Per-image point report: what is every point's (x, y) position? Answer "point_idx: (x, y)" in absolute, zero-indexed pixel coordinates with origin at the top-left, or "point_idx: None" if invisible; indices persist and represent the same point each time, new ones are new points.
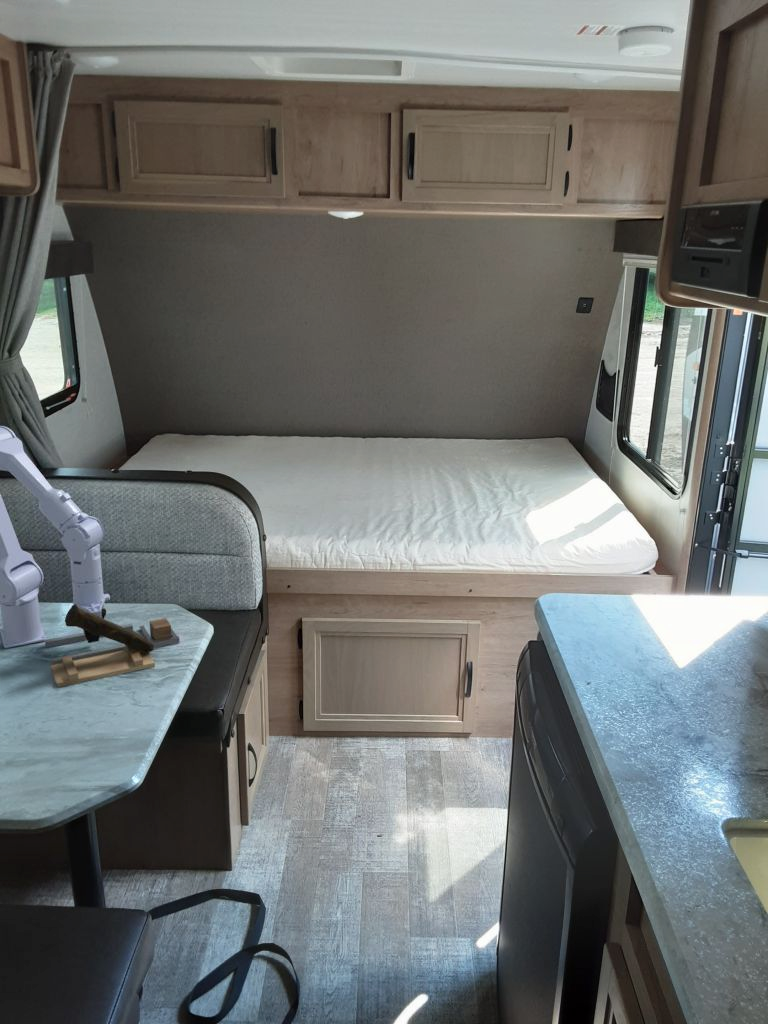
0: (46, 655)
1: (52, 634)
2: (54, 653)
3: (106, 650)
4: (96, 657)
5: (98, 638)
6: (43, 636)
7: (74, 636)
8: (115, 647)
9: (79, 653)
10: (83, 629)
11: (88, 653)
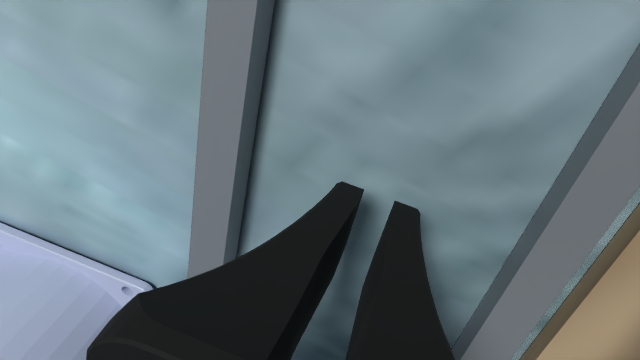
0: (309, 357)
1: (90, 225)
2: (311, 332)
3: (599, 239)
4: (606, 307)
5: (419, 226)
6: (118, 285)
7: (220, 233)
8: (621, 171)
9: (475, 343)
10: (309, 320)
11: (527, 324)
